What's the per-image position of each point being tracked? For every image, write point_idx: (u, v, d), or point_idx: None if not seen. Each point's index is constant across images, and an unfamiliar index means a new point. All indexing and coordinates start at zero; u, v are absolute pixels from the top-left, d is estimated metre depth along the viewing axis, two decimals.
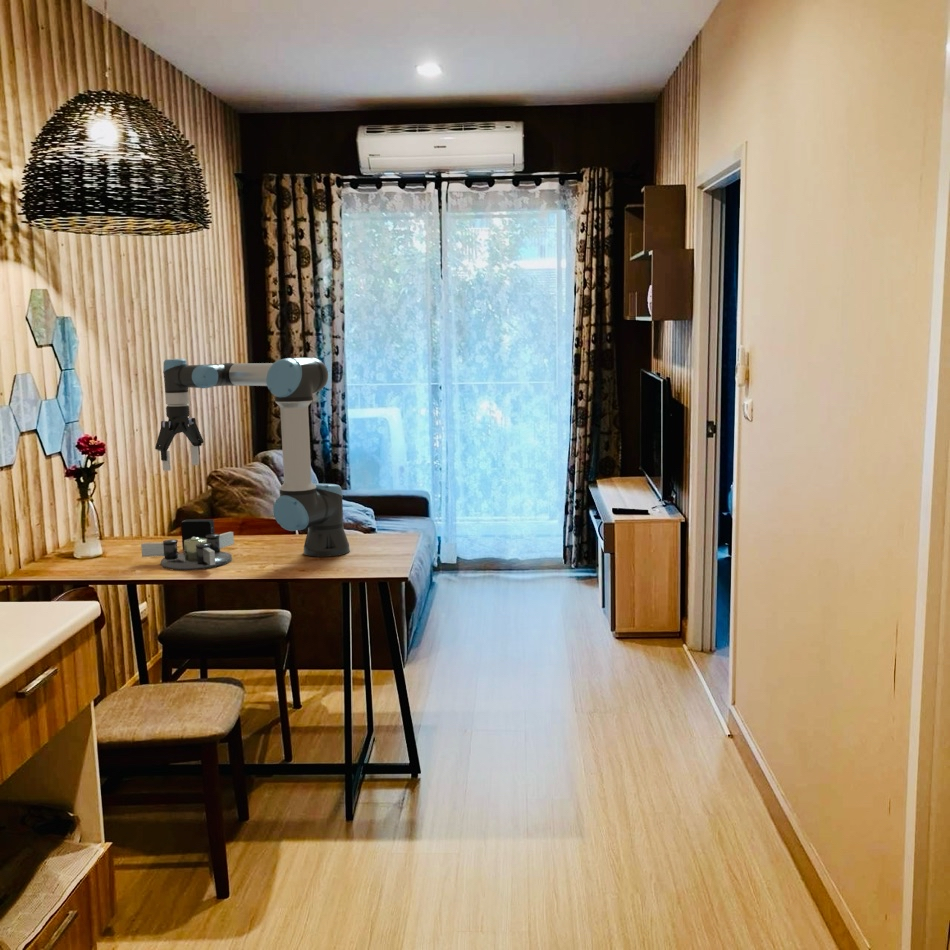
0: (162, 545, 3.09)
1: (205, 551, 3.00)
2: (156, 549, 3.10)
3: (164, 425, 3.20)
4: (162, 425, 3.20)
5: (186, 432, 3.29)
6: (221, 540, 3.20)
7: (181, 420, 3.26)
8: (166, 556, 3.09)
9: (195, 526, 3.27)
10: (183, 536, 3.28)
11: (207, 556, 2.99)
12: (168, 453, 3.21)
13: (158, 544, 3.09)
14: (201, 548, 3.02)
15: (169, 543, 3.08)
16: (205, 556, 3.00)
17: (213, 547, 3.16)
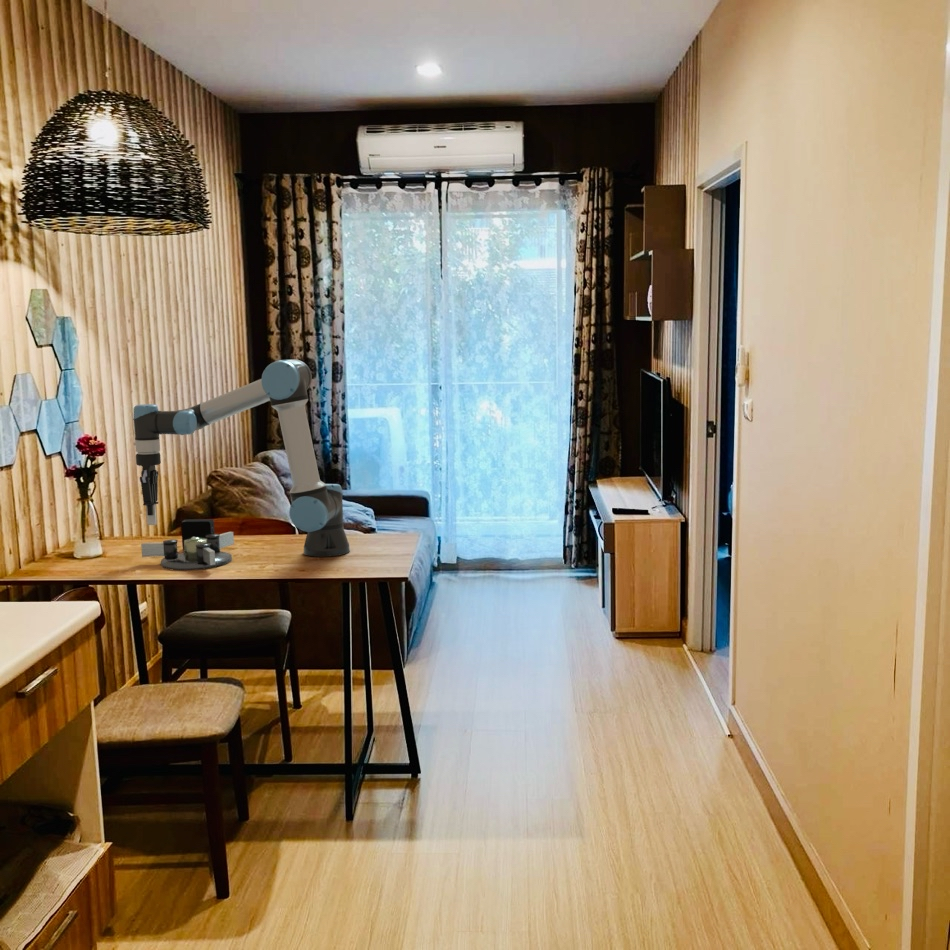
0: (162, 545, 3.09)
1: (205, 551, 3.00)
2: (156, 549, 3.10)
3: (145, 481, 3.06)
4: (142, 481, 3.06)
5: None
6: (221, 540, 3.20)
7: (152, 468, 3.12)
8: (166, 556, 3.09)
9: (195, 526, 3.27)
10: (183, 536, 3.28)
11: (207, 556, 2.99)
12: (154, 507, 3.13)
13: (158, 544, 3.09)
14: (201, 548, 3.02)
15: (169, 543, 3.08)
16: (205, 556, 3.00)
17: (213, 547, 3.16)
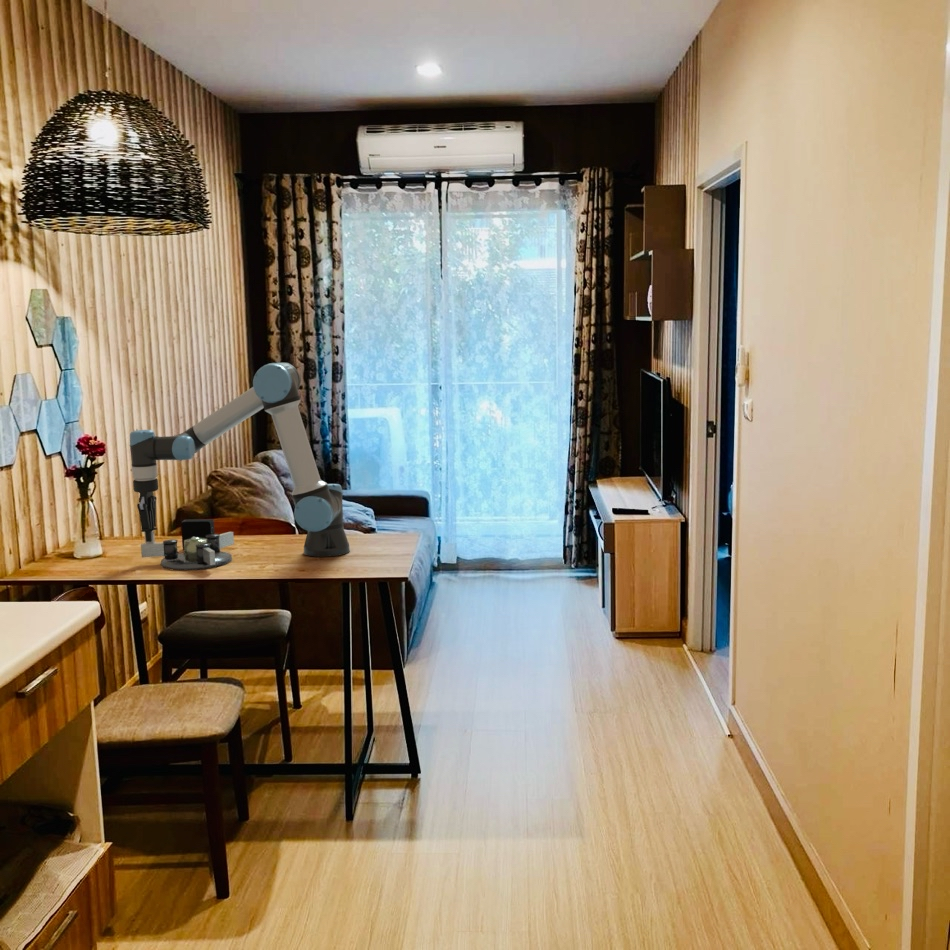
0: (162, 545, 3.09)
1: (205, 551, 3.00)
2: (156, 549, 3.09)
3: (143, 508, 3.03)
4: (140, 508, 3.03)
5: None
6: (221, 540, 3.20)
7: (150, 494, 3.08)
8: (166, 556, 3.09)
9: (195, 526, 3.27)
10: (183, 536, 3.28)
11: (207, 556, 2.99)
12: (153, 533, 3.10)
13: (158, 544, 3.09)
14: (201, 548, 3.02)
15: (170, 543, 3.08)
16: (205, 556, 3.00)
17: (213, 547, 3.16)
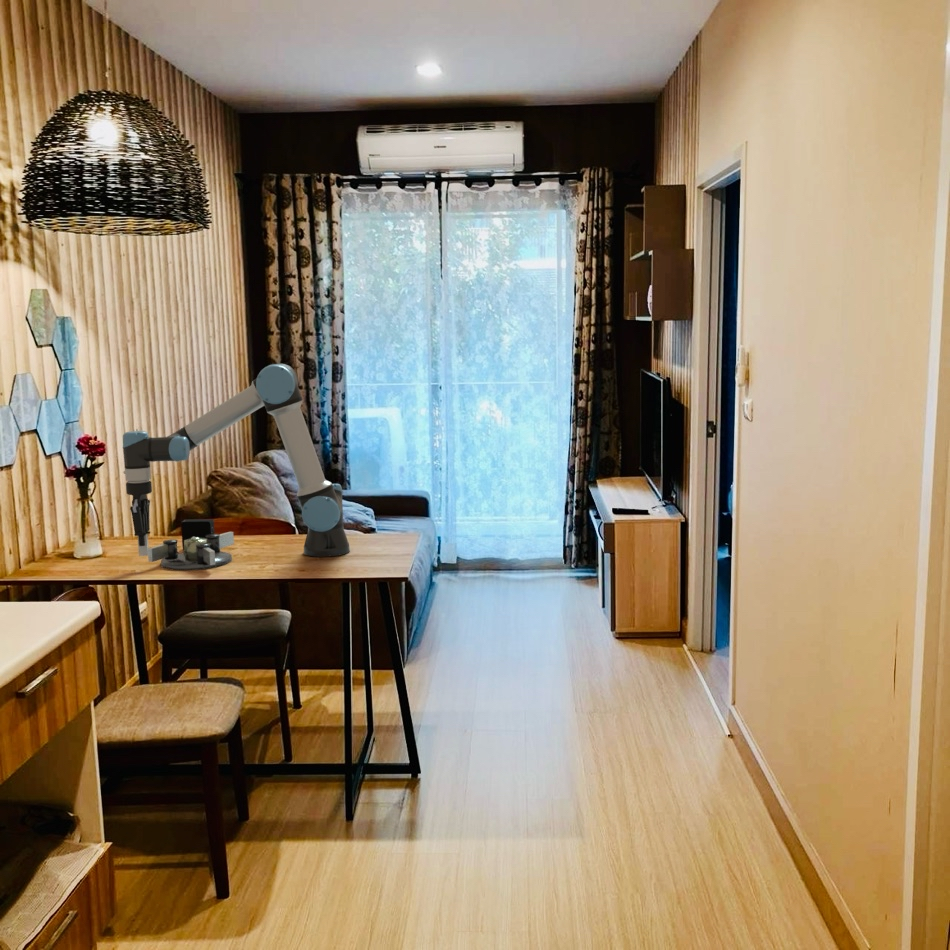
0: (167, 546, 3.08)
1: (205, 551, 3.00)
2: (162, 551, 3.06)
3: (136, 511, 2.96)
4: (133, 511, 2.96)
5: None
6: (221, 540, 3.20)
7: (143, 497, 3.01)
8: (172, 556, 3.09)
9: (195, 526, 3.27)
10: (183, 536, 3.28)
11: (207, 556, 2.99)
12: (146, 537, 3.02)
13: (164, 546, 3.07)
14: (201, 548, 3.02)
15: (175, 542, 3.10)
16: (205, 556, 3.00)
17: (213, 547, 3.16)
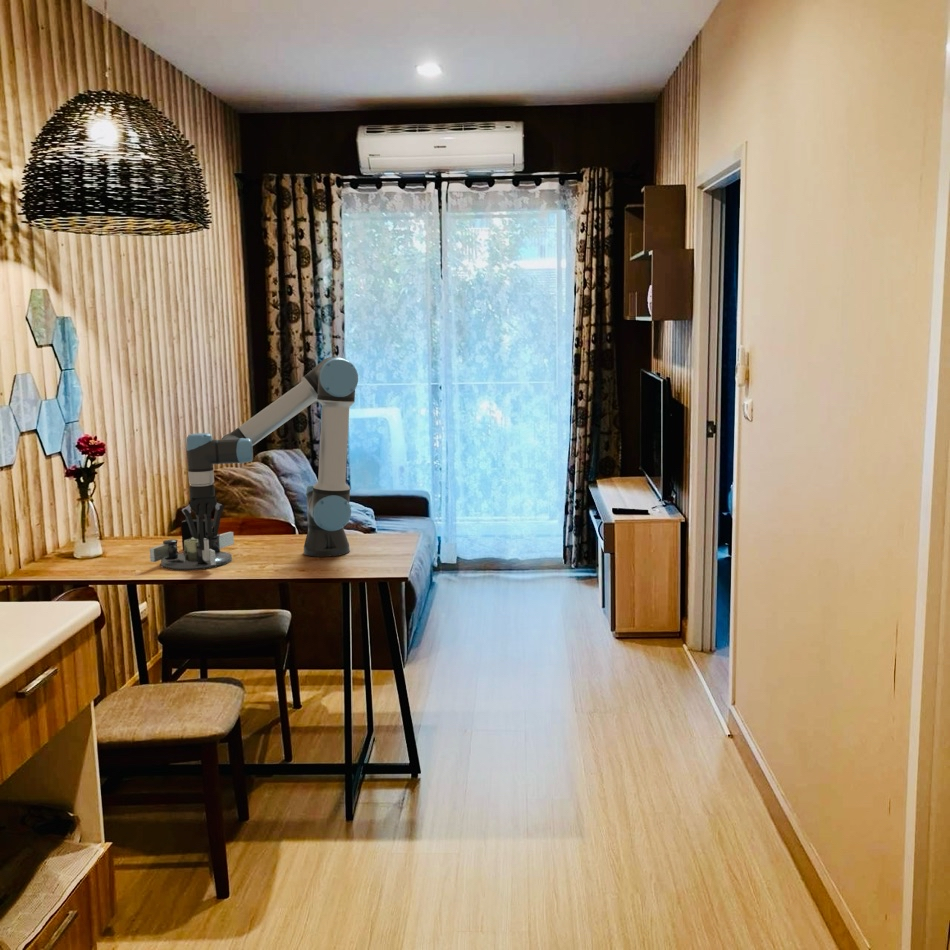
0: (167, 546, 3.08)
1: None
2: (164, 551, 3.06)
3: (185, 514, 2.93)
4: (184, 513, 2.93)
5: (206, 516, 2.96)
6: (221, 540, 3.20)
7: (204, 501, 2.95)
8: (173, 556, 3.09)
9: (195, 526, 3.27)
10: (183, 536, 3.28)
11: None
12: (205, 542, 2.96)
13: (165, 546, 3.07)
14: None
15: (176, 542, 3.10)
16: None
17: (213, 547, 3.16)
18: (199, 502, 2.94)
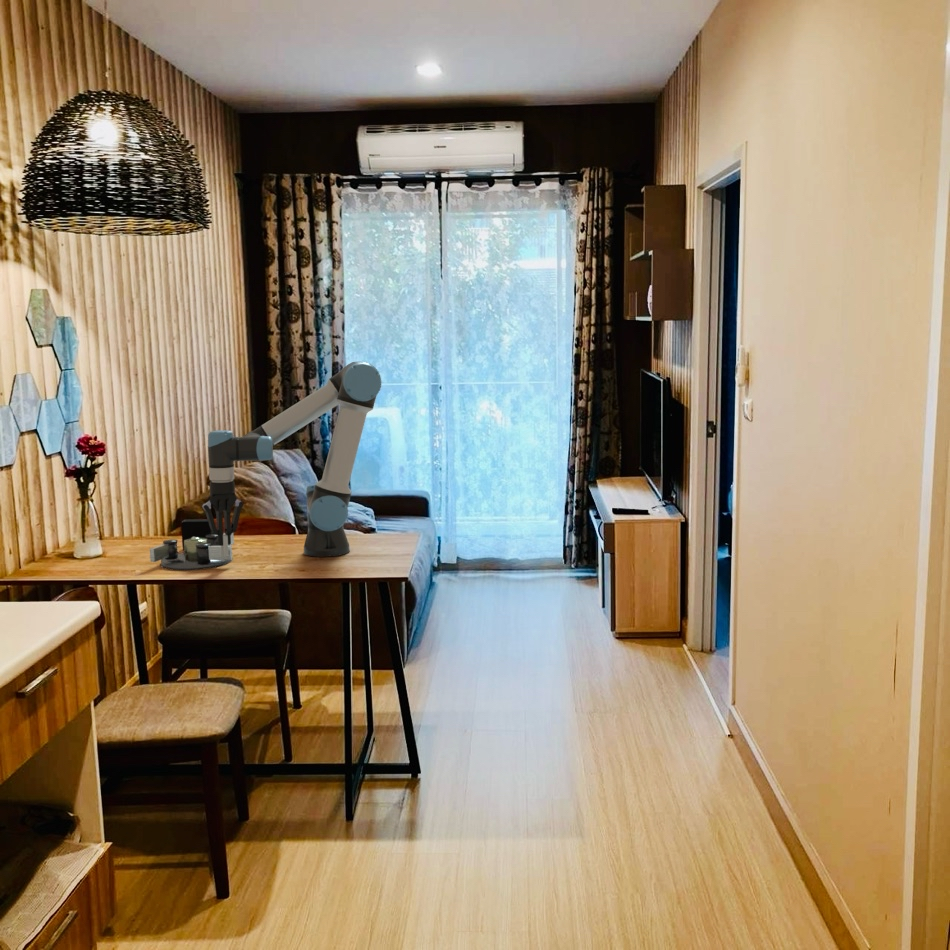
0: (167, 546, 3.08)
1: (217, 548, 3.03)
2: (164, 551, 3.06)
3: (205, 510, 2.96)
4: (204, 509, 2.97)
5: (225, 512, 2.99)
6: None
7: (224, 497, 2.98)
8: (173, 556, 3.09)
9: (195, 526, 3.27)
10: (183, 536, 3.28)
11: None
12: (224, 538, 2.99)
13: (165, 546, 3.07)
14: (207, 547, 3.03)
15: (176, 542, 3.10)
16: (217, 553, 3.03)
17: None
18: (219, 498, 2.97)
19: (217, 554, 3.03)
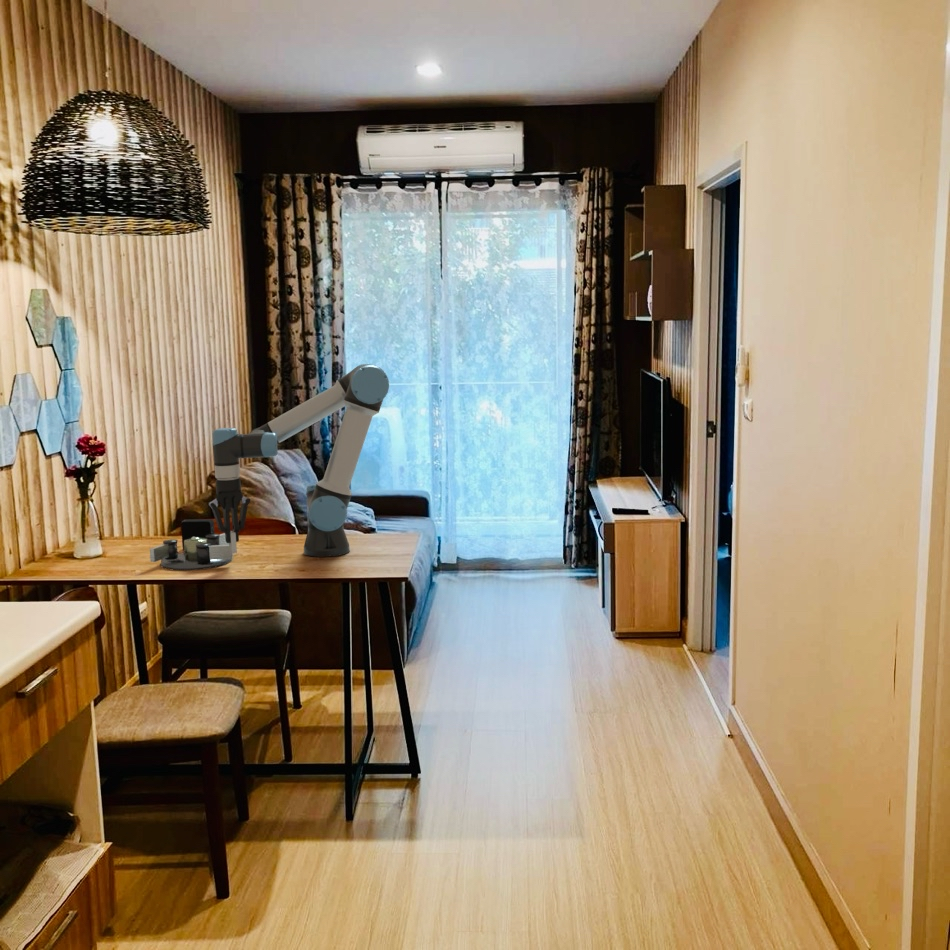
0: (167, 546, 3.08)
1: (218, 548, 3.04)
2: (164, 551, 3.06)
3: (212, 507, 2.97)
4: (211, 507, 2.98)
5: (232, 509, 3.00)
6: (221, 540, 3.20)
7: (230, 495, 2.99)
8: (173, 556, 3.09)
9: (195, 526, 3.27)
10: (183, 536, 3.28)
11: (223, 552, 3.04)
12: (231, 535, 3.00)
13: (165, 546, 3.07)
14: (208, 547, 3.03)
15: (176, 542, 3.10)
16: (218, 553, 3.04)
17: None
18: (226, 496, 2.98)
19: (218, 553, 3.04)
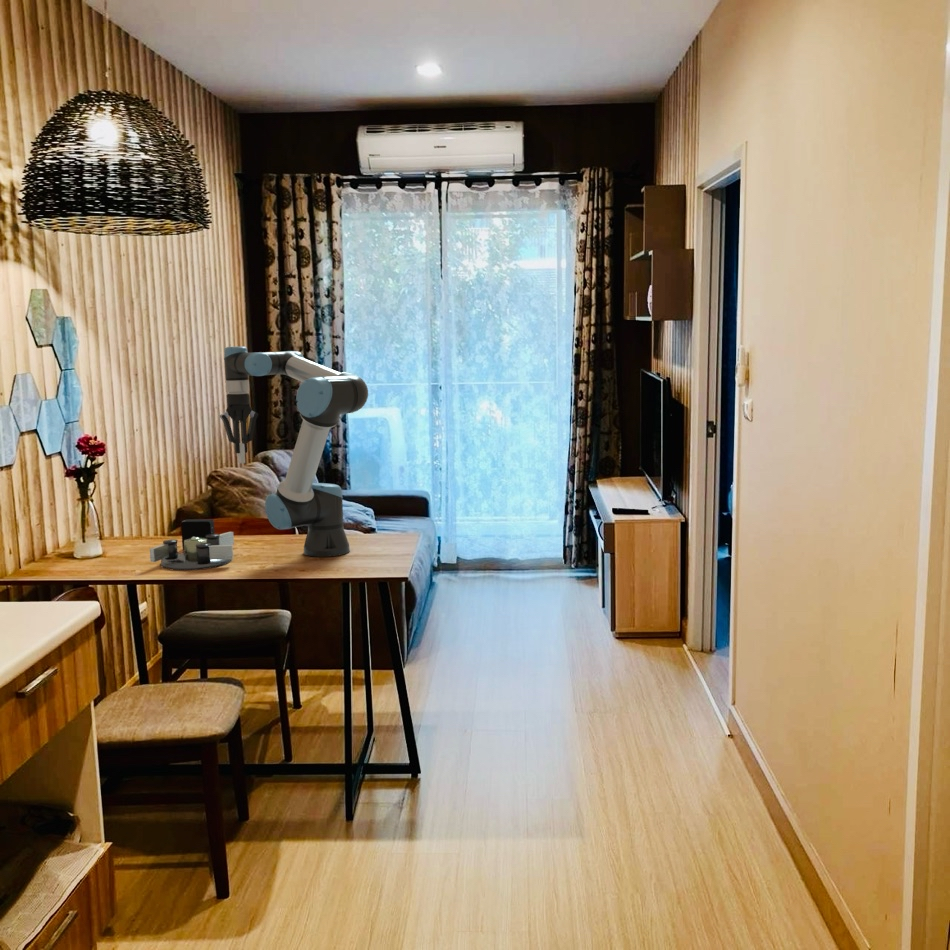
0: (167, 546, 3.08)
1: (218, 548, 3.04)
2: (164, 551, 3.06)
3: (223, 419, 3.21)
4: (222, 419, 3.22)
5: (242, 422, 3.25)
6: (221, 540, 3.20)
7: (240, 408, 3.23)
8: (173, 556, 3.09)
9: (195, 526, 3.27)
10: (183, 536, 3.28)
11: (223, 552, 3.04)
12: (241, 446, 3.25)
13: (165, 546, 3.07)
14: (208, 547, 3.03)
15: (176, 542, 3.10)
16: (218, 553, 3.04)
17: None
18: (236, 409, 3.23)
19: (218, 553, 3.04)
